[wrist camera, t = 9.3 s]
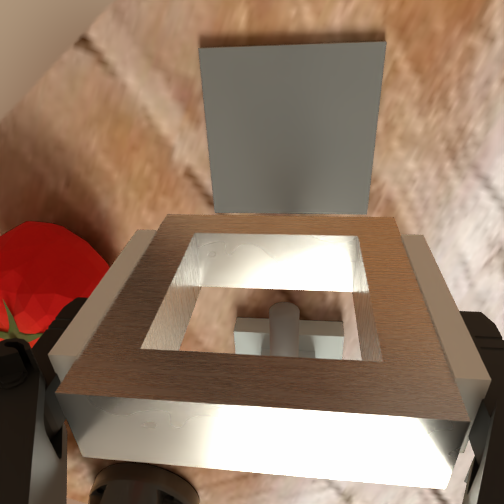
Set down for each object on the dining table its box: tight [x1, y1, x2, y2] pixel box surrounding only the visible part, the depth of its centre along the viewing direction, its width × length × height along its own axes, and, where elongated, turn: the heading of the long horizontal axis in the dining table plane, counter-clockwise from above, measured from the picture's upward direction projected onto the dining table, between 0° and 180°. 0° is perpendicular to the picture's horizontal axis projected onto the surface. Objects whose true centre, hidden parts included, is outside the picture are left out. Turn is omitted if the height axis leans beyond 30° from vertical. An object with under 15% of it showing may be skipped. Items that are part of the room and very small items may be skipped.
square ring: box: [55, 214, 471, 489], centre depth 13 cm, size 9×2×9 cm, turn 93°
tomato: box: [0, 221, 110, 348], centre depth 35 cm, size 11×13×10 cm
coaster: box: [198, 41, 386, 214], centre depth 30 cm, size 12×12×1 cm
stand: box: [234, 302, 344, 360], centre depth 34 cm, size 16×10×12 cm, turn 3°
